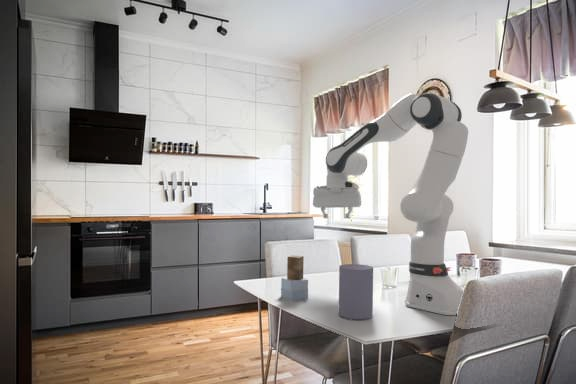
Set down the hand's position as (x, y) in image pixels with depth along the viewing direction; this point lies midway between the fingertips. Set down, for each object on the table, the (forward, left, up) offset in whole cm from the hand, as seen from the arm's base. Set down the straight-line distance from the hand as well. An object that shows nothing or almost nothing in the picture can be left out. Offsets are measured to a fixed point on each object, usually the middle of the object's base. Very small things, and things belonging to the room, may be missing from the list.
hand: (336, 218), depth 177 cm
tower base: (-10, +27, -28) cm, 40 cm away
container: (-39, +23, -28) cm, 54 cm away
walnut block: (-10, +26, -21) cm, 35 cm away
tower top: (-10, +27, -25) cm, 38 cm away
